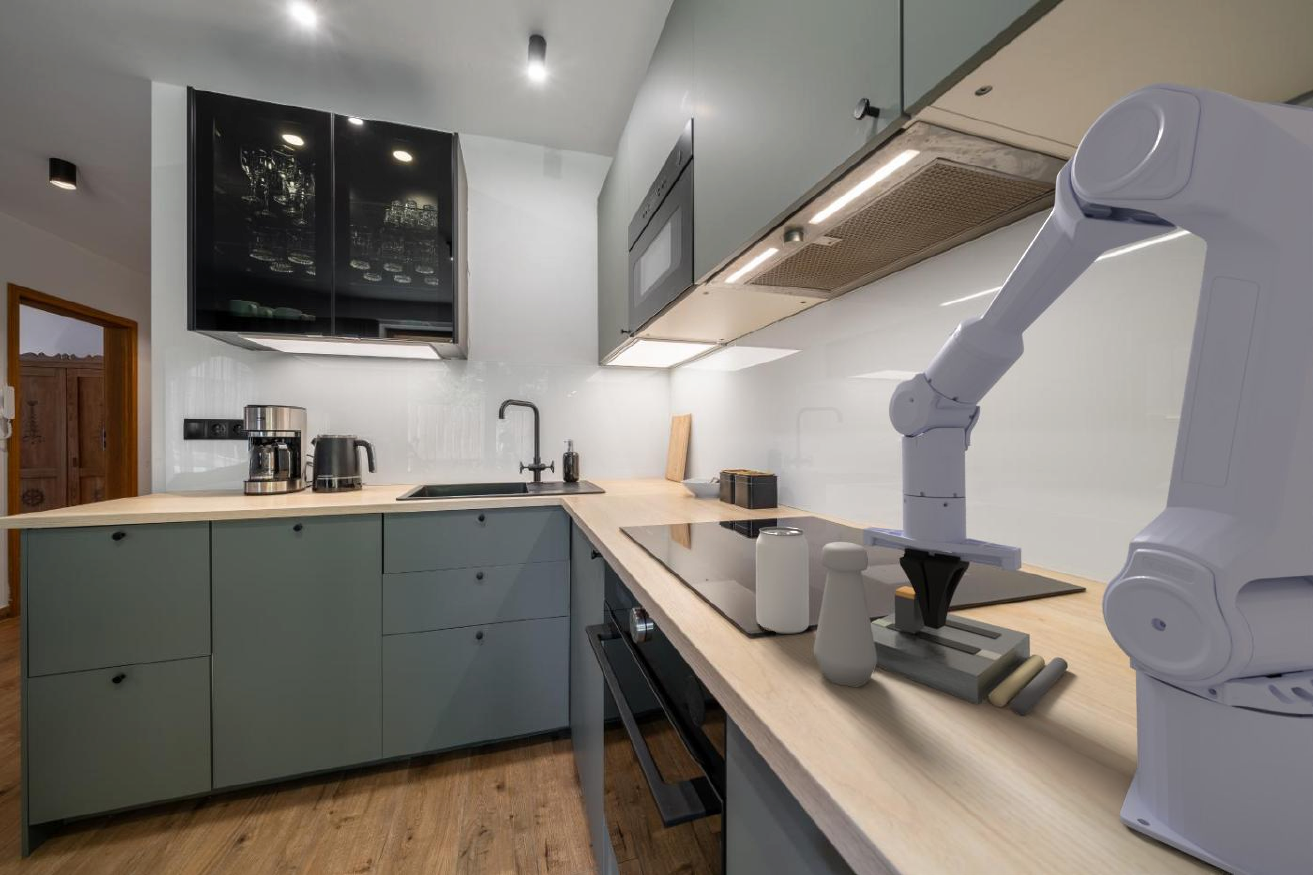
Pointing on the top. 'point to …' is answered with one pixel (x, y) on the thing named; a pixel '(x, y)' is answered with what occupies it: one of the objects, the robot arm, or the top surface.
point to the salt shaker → (845, 618)
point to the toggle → (907, 610)
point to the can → (782, 580)
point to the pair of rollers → (1033, 689)
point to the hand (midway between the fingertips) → (934, 625)
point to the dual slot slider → (952, 654)
